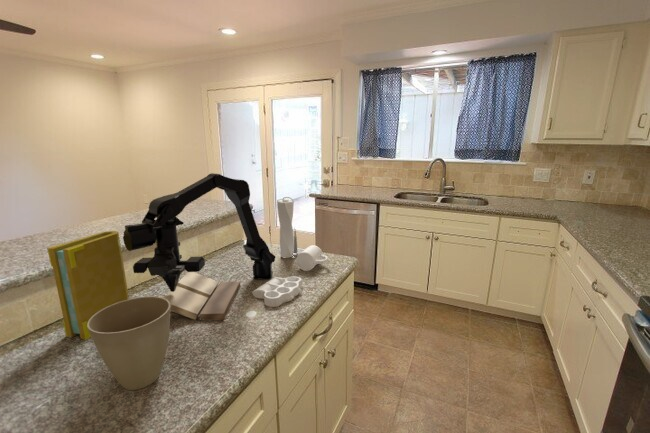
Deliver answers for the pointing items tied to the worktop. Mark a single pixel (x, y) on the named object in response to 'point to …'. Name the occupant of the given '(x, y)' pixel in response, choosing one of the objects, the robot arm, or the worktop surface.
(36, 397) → the worktop surface
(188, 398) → the worktop surface
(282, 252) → the skyscraper
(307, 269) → the mug
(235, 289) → the walnut board
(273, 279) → the white honeycomb tray
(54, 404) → the worktop surface
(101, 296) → the book
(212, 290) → the oak plank right
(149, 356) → the plant pot
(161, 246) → the robot arm
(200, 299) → the oak plank left
